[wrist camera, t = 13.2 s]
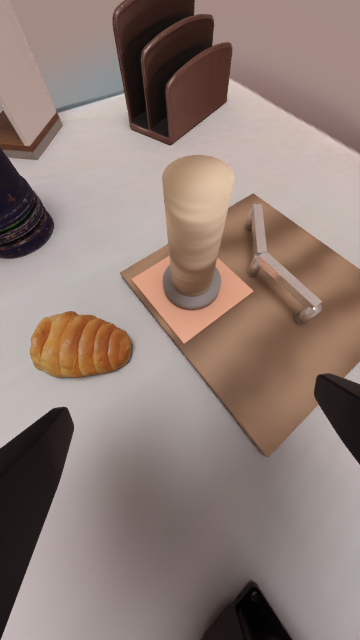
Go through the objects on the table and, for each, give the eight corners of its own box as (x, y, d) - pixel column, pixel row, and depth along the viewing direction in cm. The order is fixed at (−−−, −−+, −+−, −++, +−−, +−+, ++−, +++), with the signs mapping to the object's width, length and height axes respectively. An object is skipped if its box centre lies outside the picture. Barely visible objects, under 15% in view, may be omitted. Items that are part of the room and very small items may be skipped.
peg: (227, 274, 24) (264, 160, 13) (205, 319, 22) (228, 227, 11) (178, 255, 25) (175, 137, 14) (153, 296, 23) (126, 193, 12)
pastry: (139, 324, 24) (131, 310, 20) (127, 385, 21) (115, 381, 17) (60, 317, 24) (40, 302, 21) (39, 375, 21) (11, 369, 18)
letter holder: (130, 130, 40) (104, -3, 27) (188, 91, 46) (191, -33, 33) (170, 147, 38) (164, 9, 25) (226, 103, 44) (245, -26, 31)
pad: (252, 293, 24) (253, 291, 23) (183, 345, 21) (183, 343, 21) (196, 241, 27) (197, 238, 26) (132, 281, 24) (131, 278, 24)
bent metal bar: (306, 323, 22) (327, 308, 19) (274, 331, 22) (290, 318, 18) (251, 223, 28) (260, 199, 25) (225, 229, 28) (231, 205, 24)
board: (402, 310, 23) (411, 306, 23) (263, 454, 18) (267, 457, 17) (251, 199, 31) (253, 193, 30) (122, 277, 26) (120, 272, 25)
